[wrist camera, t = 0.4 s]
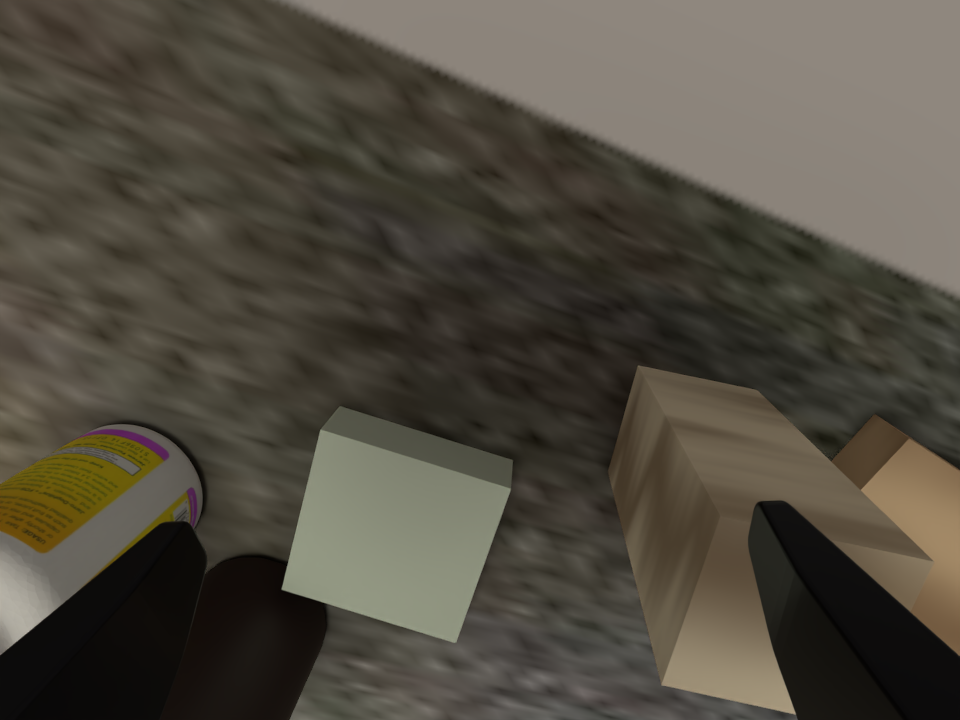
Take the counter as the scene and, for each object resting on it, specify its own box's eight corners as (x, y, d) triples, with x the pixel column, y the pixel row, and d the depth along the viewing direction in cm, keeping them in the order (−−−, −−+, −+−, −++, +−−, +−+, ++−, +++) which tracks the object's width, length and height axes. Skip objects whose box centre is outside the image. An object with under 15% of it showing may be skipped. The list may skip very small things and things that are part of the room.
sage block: (462, 599, 30) (455, 643, 28) (305, 550, 30) (281, 589, 28) (513, 456, 28) (511, 488, 25) (342, 403, 28) (320, 429, 25)
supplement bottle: (46, 446, 29) (-302, 642, 17) (163, 398, 28) (-120, 573, 16) (119, 563, 31) (-150, 818, 19) (234, 523, 30) (26, 768, 18)
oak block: (890, 727, 31) (927, 785, 28) (690, 607, 30) (707, 653, 27) (1086, 552, 27) (1151, 597, 24) (868, 409, 26) (909, 438, 23)
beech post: (720, 495, 27) (854, 727, 16) (607, 471, 28) (661, 685, 16) (757, 390, 26) (934, 561, 14) (637, 365, 26) (720, 516, 15)
